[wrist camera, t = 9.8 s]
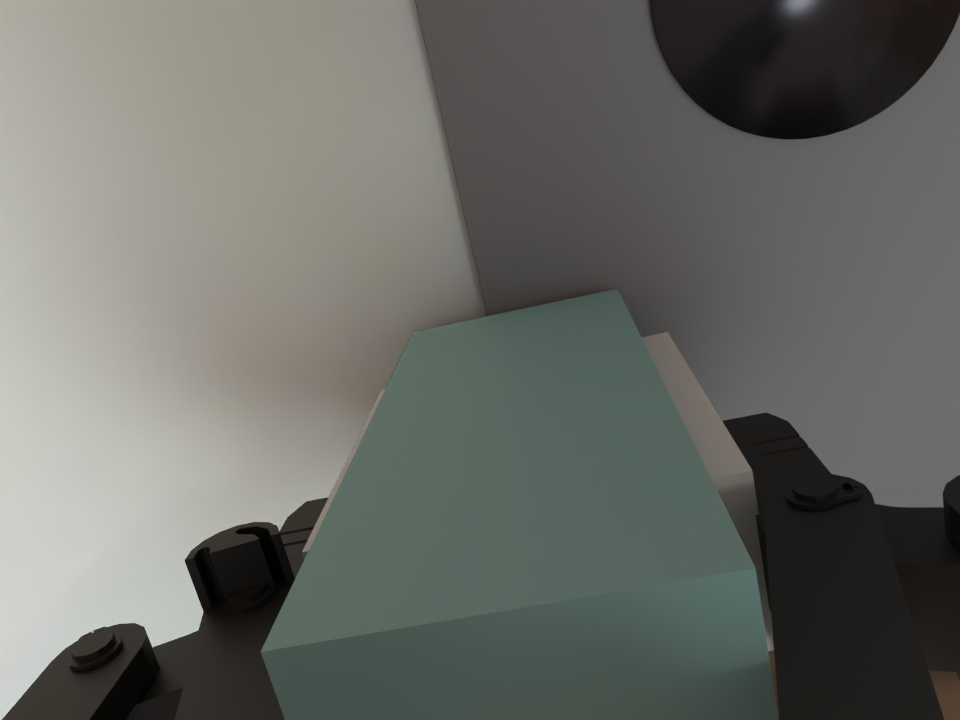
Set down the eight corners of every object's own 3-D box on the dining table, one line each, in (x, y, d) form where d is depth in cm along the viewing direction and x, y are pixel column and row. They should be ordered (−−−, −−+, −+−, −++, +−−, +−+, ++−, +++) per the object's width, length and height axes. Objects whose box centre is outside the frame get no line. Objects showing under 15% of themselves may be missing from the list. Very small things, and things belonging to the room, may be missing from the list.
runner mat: (384, -142, 16) (381, -148, 16) (1178, -358, 15) (1195, -371, 14) (662, 1072, 26) (663, 1086, 25) (1161, 1021, 24) (1171, 1035, 24)
